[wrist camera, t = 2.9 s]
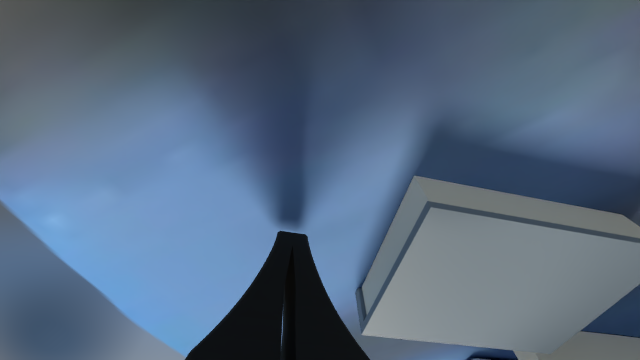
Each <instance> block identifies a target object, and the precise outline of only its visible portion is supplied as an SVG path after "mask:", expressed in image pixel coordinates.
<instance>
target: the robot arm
mask: <svg viewBox="0 0 640 360" xmlns="http://www.w3.org/2000/svg"><path fill="white" fill-rule="evenodd" d="M282 316H283V334H282V345H281V333H282ZM185 360H370V359H369V358H368V356H367V355H366V354H365V353H364V351H363V350H362V349H361V347H360V346H359V345H358V343H357V342H356V341H355V339H354V338H353V336H352V335H351V333H350V332H349V330H348V329H347V327H346V326H345V324H344V323H343V321H342V320H341V318H340V316H339V315H338V313H337V311H336V310H335V308H334V306H333V304H332V302H331V300H330V298H329V296H328V294H327V292H326V290H325V288H324V286H323V284H322V281H321V279H320V277H319V274H318V271H317V269H316V266H315V263H314V260H313V257H312V254H311V251H310V247H309V243H308V237H307V236H306V235H305V234H298V233H291V232H284V231H279V232H278V233H277V238H276V241H275V243H274V246H273V248H272V250H271V252H270V254H269V256H268V258H267V260H266V262H265V263H264V265H263V267H262V268H261V270H260V272H259V273H258V275H257V276H256V278H255V279H254V281H253V282H252V284H251V285H250V287H249V288H248V289H247V291H246V292H245V293H244V295H243V296H242V297H241V299H240V300H239V301H238V302H237V303H236V305H235V306H234V307H233V308H232V310H231V311H230V312H229V313H228V314H227V315H226V316H225V317H224V318H223V320H222V321H221V322H220V323H219V324H218V325H217V326H216V327H215V328H214V329H213V330H212V331H211V332H210V333H209V334H208V335H207V336H206V337H205V338H204V339H203V340H202V341H201V342H200V343H199V344H198V345H197V346H196V347H195V348H193V349H192V350H191V351H190V353H189V354H188V356H187V357H186V359H185ZM472 360H489V359H479V358H476V359H472Z"/></svg>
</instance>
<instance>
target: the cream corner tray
mask: <svg viewBox="0 0 640 360" xmlns="http://www.w3.org/2000/svg"><path fill="white" fill-rule="evenodd" d="M513 351H514V350H513ZM514 353H515V355H516V356H517V358H518V360H640V338H635V337H627V336H618V335H609V334H601V333H592V332H584V331H579V332H578V333H577V334H576V335H574V336H573V337H572V338H571V339H569V340H568V341H567V342H565V343H564V344H563V345H562V346H560V347H559V348H558V349H557V350H555V351H554V352H553V353H551V354H544V353H534V352H524V351H514Z"/></svg>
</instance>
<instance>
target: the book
mask: <svg viewBox="0 0 640 360" xmlns="http://www.w3.org/2000/svg"><path fill="white" fill-rule="evenodd" d="M639 284H640V226H638V225H637V224H635V223H634V222H632V221H631V220H629V219H628V218H626V217H625V216H623V215H621V214H616V213H611V212H605V211H600V210H595V209H590V208H584V207H579V206H574V205H568V204H563V203H558V202H552V201H547V200H542V199H536V198H531V197H526V196H521V195H515V194H510V193H505V192H499V191H494V190H489V189H483V188H478V187H473V186H467V185H462V184H457V183H452V182H446V181H441V180H436V179H430V178H425V177H420V176H414V177H413V179H412V181H411V183H410V185H409V187H408V189H407V192H406V194H405V196H404V198H403V200H402V202H401V204H400V207H399V209H398V211H397V213H396V215H395V217H394V219H393V222H392V224H391V226H390V228H389V230H388V232H387V234H386V236H385V239H384V241H383V243H382V245H381V247H380V249H379V251H378V254H377V256H376V258H375V260H374V262H373V264H372V266H371V268H370V271H369V273H368V275H367V277H366V279H365V281H364V283H363V286H362V288H358V289H357V291H356V301H357V308H358V315H359V321H360V328H361V335H368V336H377V337H387V338H397V339H407V340H416V341H426V342H436V343H446V344H456V345H465V346H475V347H485V348H495V349H504V350H514V351H524V352H534V353H544V354H551V353H553V352H554V351H555V350H557V349H558V348H559V347H560V346H562V345H563V344H564V343H565V342H567V341H568V340H569V339H571V338H572V337H573V336H574V335H576V334H577V333H578V332H579V331H581V330H582V329H583V328H585V327H586V326H587V325H588V324H590V323H591V322H592V321H593V320H595V319H596V318H597V317H599V316H600V315H601V314H602V313H604V312H605V311H606V310H607V309H609V308H610V307H611V306H613V305H614V304H615V303H616V302H618V301H619V300H620V299H621V298H623V297H624V296H625V295H626V294H628V293H629V292H630V291H632V290H633V289H634V288H635V287H637V286H638V285H639Z"/></svg>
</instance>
